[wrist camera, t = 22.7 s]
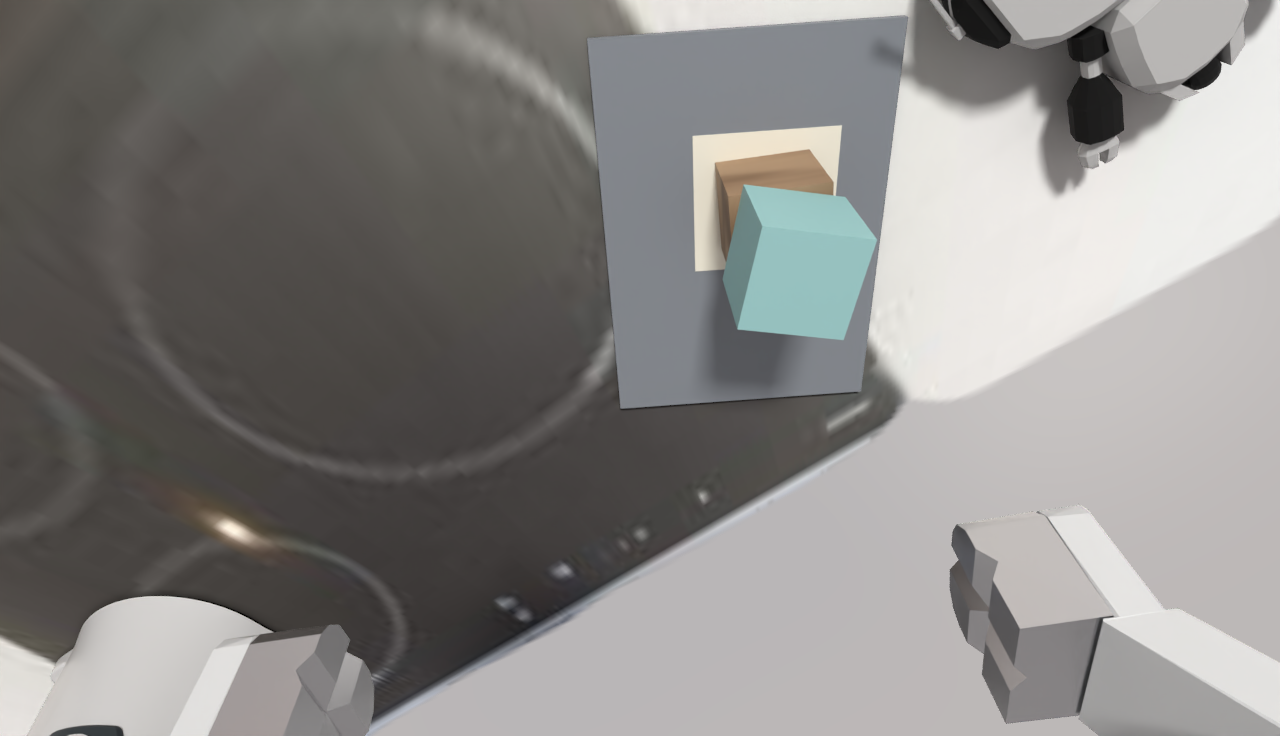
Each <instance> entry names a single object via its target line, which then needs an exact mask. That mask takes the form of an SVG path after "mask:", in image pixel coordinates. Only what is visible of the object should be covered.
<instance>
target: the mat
mask: <svg viewBox="0 0 1280 736" xmlns="http://www.w3.org/2000/svg"><path fill="white" fill-rule="evenodd" d="M907 21H908V17H907V16H905V15H904V16H889V17H875V18H861V19H847V20H833V21H819V22H805V23H791V24H777V25H763V26H749V27H735V28H721V29H707V30H693V31H679V32H665V33H651V34H637V35H623V36H609V37H595V38H587V44H588V55H589V66H590V77H591V88H592V99H593V110H594V121H595V132H596V143H597V154H598V165H599V176H600V187H601V198H602V209H603V220H604V231H605V242H606V253H607V264H608V275H609V286H610V297H611V308H612V319H613V330H614V342H615V353H616V364H617V375H618V386H619V397H620V408H621V409H624V408H638V407H652V406H665V405H679V404H693V403H707V402H720V401H734V400H748V399H762V398H775V397H789V396H803V395H816V394H830V393H844V392H858V391H861V386H862V378H863V370H864V362H865V354H866V346H867V338H868V330H869V323H870V315H871V307H872V299H873V291H874V283H875V275H876V267H877V259H878V251H879V243H880V235H881V227H882V219H883V211H884V204H885V196H886V188H887V180H888V172H889V164H890V156H891V148H892V140H893V132H894V124H895V116H896V108H897V100H898V93H899V85H900V77H901V69H902V61H903V53H904V45H905V37H906V29H907ZM807 149H810V151H811V152H812V154H813V155H814V156H815V158H816V159H817V160H818V162H819V163H820V164H821V166H822V167H823V168H824V170H825V171H826V172H827V174H828V175H829V176H830V178H831V179H832V180H833V182H834V190H833V195H834V196H842V197H846V198H847V200H848V201H849V202H850V204H851V205H852V206H853V208H854V209H855V211H856V212H857V213H858V215H859V216H860V217H861V219H862V220H863V221H864V223H865V224H866V225H867V227H868V228H869V229H870V231H871V232H872V233H873V235H874V236H875V237H876V239H877V242H876V245H875V248H874V251H873V254H872V257H871V260H870V263H869V266H868V269H867V272H866V275H865V278H864V281H863V284H862V287H861V290H860V293H859V296H858V299H857V302H856V305H855V308H854V311H853V314H852V317H851V319H850V322H849V325H848V328H847V331H846V334H845V337H844V340H837V339H827V338H817V337H807V336H797V335H788V334H778V333H768V332H758V331H748V330H738V329H737V327H736V323H735V320H734V317H733V313H732V310H731V306H730V303H729V300H728V296H727V293H726V289H725V286H724V283H723V275H724V270H725V266H726V261H725V258H724V255H723V252H722V248H721V235H720V221H719V208H718V195H717V182H716V168H715V162H722V161H729V160H737V159H744V158H751V157H758V156H765V155H772V154H779V153H786V152H793V151H800V150H807Z"/></svg>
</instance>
